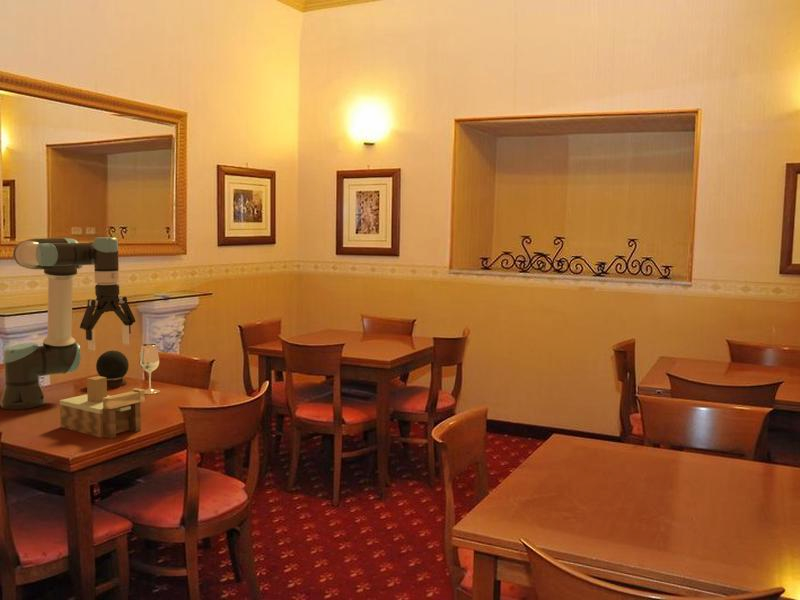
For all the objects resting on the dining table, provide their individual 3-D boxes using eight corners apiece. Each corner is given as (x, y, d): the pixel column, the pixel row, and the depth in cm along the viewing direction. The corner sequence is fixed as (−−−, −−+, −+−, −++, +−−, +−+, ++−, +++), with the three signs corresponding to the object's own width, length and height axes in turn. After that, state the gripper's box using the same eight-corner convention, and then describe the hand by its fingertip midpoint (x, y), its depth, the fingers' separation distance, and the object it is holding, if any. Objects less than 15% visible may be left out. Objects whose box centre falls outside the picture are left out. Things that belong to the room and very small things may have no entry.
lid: (59, 405, 260) (58, 377, 259) (95, 397, 272) (94, 370, 271) (107, 417, 247) (107, 387, 246) (143, 408, 258) (142, 379, 257)
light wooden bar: (102, 407, 249) (102, 395, 249) (137, 399, 261) (136, 388, 261) (110, 409, 247) (110, 397, 247) (144, 401, 259) (144, 389, 258)
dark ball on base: (132, 381, 334) (132, 348, 332) (124, 388, 321) (123, 353, 319) (102, 381, 333) (101, 348, 331) (92, 388, 320) (91, 353, 318)
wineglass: (163, 392, 314) (162, 344, 312) (146, 395, 309) (145, 347, 306) (153, 389, 320) (152, 342, 317) (136, 392, 314) (135, 344, 312)
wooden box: (60, 427, 261) (59, 399, 260) (96, 418, 273) (95, 391, 272) (108, 439, 248) (107, 410, 247) (143, 429, 259) (142, 401, 258)
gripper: (81, 286, 239) (84, 353, 241) (144, 281, 260) (146, 342, 262) (66, 285, 242) (69, 351, 245) (130, 280, 264) (132, 341, 266)
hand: (109, 346), depth 253 cm, fingers open, 13 cm apart
